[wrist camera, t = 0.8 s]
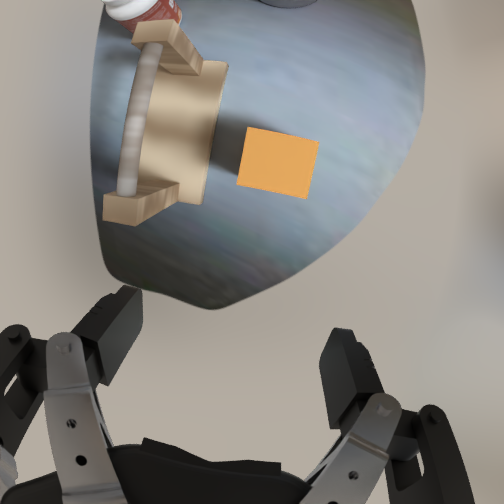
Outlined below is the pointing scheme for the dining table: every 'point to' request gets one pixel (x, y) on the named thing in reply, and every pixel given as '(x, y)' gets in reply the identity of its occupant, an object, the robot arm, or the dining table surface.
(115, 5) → the pill bottle
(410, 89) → the dining table surface
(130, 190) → the rack
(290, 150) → the notched orange block
